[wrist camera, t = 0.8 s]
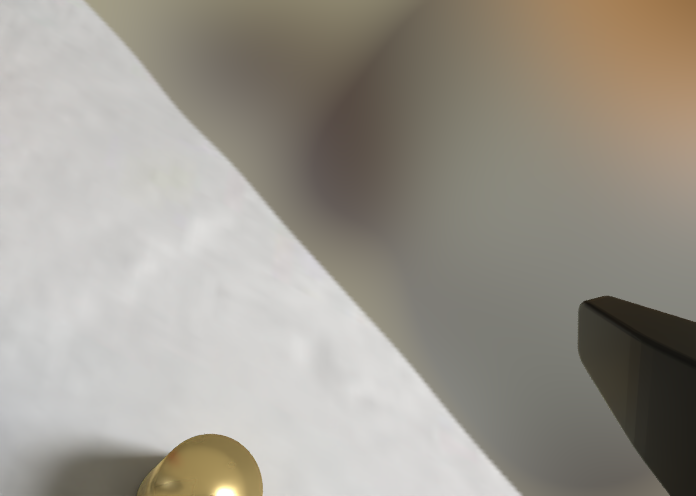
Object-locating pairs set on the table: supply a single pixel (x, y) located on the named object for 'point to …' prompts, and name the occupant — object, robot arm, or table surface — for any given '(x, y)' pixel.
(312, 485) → the table surface
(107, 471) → the table surface
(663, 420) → the robot arm
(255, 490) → the short pin
